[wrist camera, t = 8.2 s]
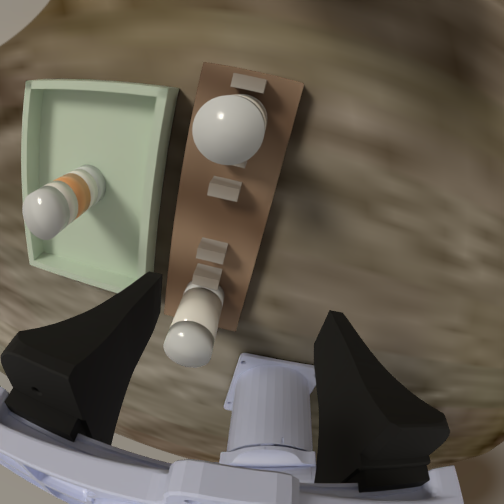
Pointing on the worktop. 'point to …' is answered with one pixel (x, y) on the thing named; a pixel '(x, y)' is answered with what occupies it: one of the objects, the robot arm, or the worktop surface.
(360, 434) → the robot arm
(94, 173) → the marked fuse
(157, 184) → the tray
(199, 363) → the cylinder
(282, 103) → the fuse holder
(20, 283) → the worktop surface
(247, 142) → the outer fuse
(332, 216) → the worktop surface
